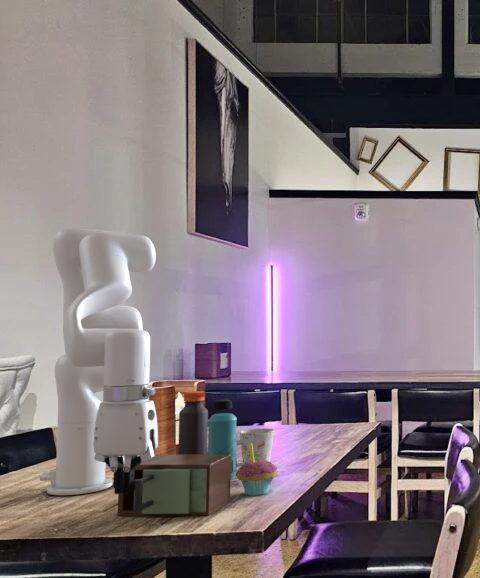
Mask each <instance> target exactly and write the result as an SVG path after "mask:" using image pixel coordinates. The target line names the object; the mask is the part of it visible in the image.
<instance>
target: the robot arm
mask: <svg viewBox="0 0 480 578" xmlns="http://www.w3.org/2000/svg"><path fill="white" fill-rule="evenodd" d="M154 245H155V244H154V243H153V242H152V240H151V239H150V238H149V237H148V236H146V235H143V234H140V233H137V232H128V231H116V230H103V229H94V228H81V227H79V228H75V227H74V228H65V229H61V230H60V231H58V232H57V233H56V234H55V236H54V238H53V245H52V246H53V247H52V250H53V259H54V262H55V267H56V269H57V271H58V274H59V276H60V279H61V282H62V287H63V305H62V306H63V309H62V315H63V316H62V317H63V318H62V333H63V334H62V335H63V342H64V351H65V354H63V355H61V356H60V357H59V358H58V359H57V360H56V361H55V364H54V379H55V385H56V394H57V429H56V430H57V432H56V433H57V435H56V459H55V461H56V462H55V469H54V470H44V471H43V472H42V473H41V475H40V476H39V481H40V482H48V481H49V482H50V485H48V486H47V487H46V493H47V494H48V495H51V496H75V495H84V494H90V493H95V492H96V493H97V492H99V491H104V490H106V489H108V488H111V487H113V491H114V492H113V493H114V495H118V494H119V493H120V494H125V493H127V492H129V491H132V489H133V486H134V472H135V469H136V468H137V467H138V466H139V465H140V464H141V463H142V462H144V461H148V460H151V459H154V457H155V455H156V454H155V452H154V451H155V450H157V449H158V446H159V429H158V417H157V410H156V405H155V402H154V400H151V399H150V397H151V396H155V394H156V393H157V391H156V388H154V387H151V384H150V376H151V375H150V374H151V373H150V372H151V370H150V369H151V334H150V333H149V332H148V331H147V330H144V328H143V319H142V315H141V313H140V311H139V310H138V309H137V308H136V307H134V306H131V305H122V304H123V303H124V302H126V301H127V300H128V299H129V298H130V297H131V295H132V292H133V287H132V281H131V276H130V273H149V272H150V271H152V270H153V269H154V266H155V264H156V260H157V254H156V248H155V246H154ZM99 392H101V393H102V394H103V395H102V401H101V400H100V399H99V398H98V397H97V395H96V394H95V393H99ZM106 465H107V466H108V467H109V469H110V472H111V473H113V479H112V478H109V477H106Z"/></svg>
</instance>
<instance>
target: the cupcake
mask: <svg viewBox="0 0 480 578" xmlns="http://www.w3.org/2000/svg"><path fill="white" fill-rule="evenodd" d="M249 441H250V440H249ZM249 447H250V455H251V462H249V463H246V464H244V465H242V466H240V467H238V468H237V471H236V473H237V475H236V478H237V480H238V481H240V482H241V484H242V487H243V489H244V493H245V495H247V496H261V495H265V494H268V493H269V491H270V487H271V484H272V482H273V479H274V478H276V477H278V467H277V466H276V465H275V463H273V462H271V461H270V462H269V461H266V460H263V461H262V460H257V461H254V454H253V445H252V443H251V441H250V444H249Z"/></svg>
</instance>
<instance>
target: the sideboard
mask: <svg viewBox="0 0 480 578" xmlns="http://www.w3.org/2000/svg"><path fill="white" fill-rule="evenodd" d="M154 455H155V457H154V459H151V460H148V461H144V462H142V463H141V464H140V465H139V466H138V467H137V468H136V469H135V472H134V480H136V479H141V478H143V470H190V496H189V513H180V514H142V512H139V513H134V512H133V510H134V486H133V489H132V491H129V492H127V493H125V494H120V493H119V494H117V516H118V517H148V516H149V517H151V516H152V517H154V516H155V517H159V516H160V517H162V516H164V517H165V516H168V517H169V516H171V517H173V516H186V517H187V516H210V515H212V514H213V513H215V512H216V511H217V510H219V509H221V508H222V507H224V506H225V505H227V504H228V503H230V502H231V483H232V482H231V481H232V480H231V454H208V453H207V454H180V455H178V454H154Z"/></svg>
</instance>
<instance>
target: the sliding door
mask: <svg viewBox="0 0 480 578" xmlns="http://www.w3.org/2000/svg"><path fill="white" fill-rule="evenodd" d="M189 496H190V470H143V478H141V479H136V480H134V510H133V512H134V513H139V512H142V514H180V513H189Z"/></svg>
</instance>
